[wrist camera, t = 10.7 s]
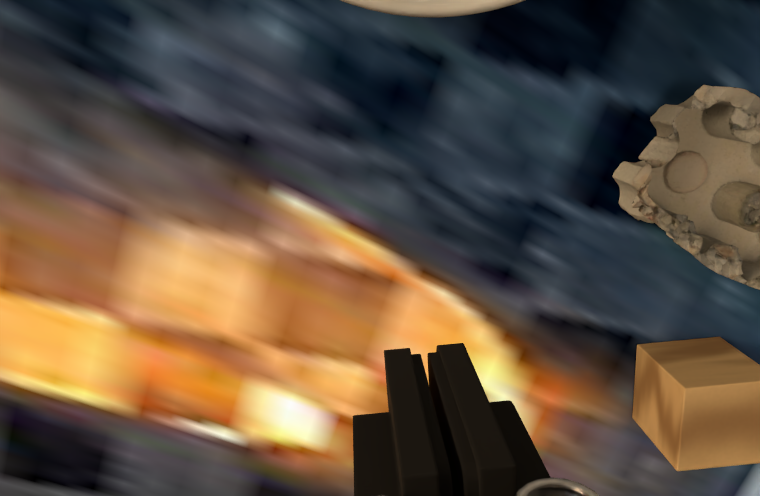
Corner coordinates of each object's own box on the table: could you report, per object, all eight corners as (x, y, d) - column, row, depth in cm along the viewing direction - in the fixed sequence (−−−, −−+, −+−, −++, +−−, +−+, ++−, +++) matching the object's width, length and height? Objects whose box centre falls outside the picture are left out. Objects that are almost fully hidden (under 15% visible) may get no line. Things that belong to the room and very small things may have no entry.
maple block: (636, 343, 33) (684, 388, 29) (719, 336, 34) (781, 379, 29) (631, 417, 35) (676, 472, 30) (711, 409, 35) (768, 462, 30)
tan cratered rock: (590, 191, 31) (625, 208, 27) (682, 68, 29) (733, 67, 25) (733, 289, 33) (785, 318, 29) (826, 179, 31) (895, 194, 27)
